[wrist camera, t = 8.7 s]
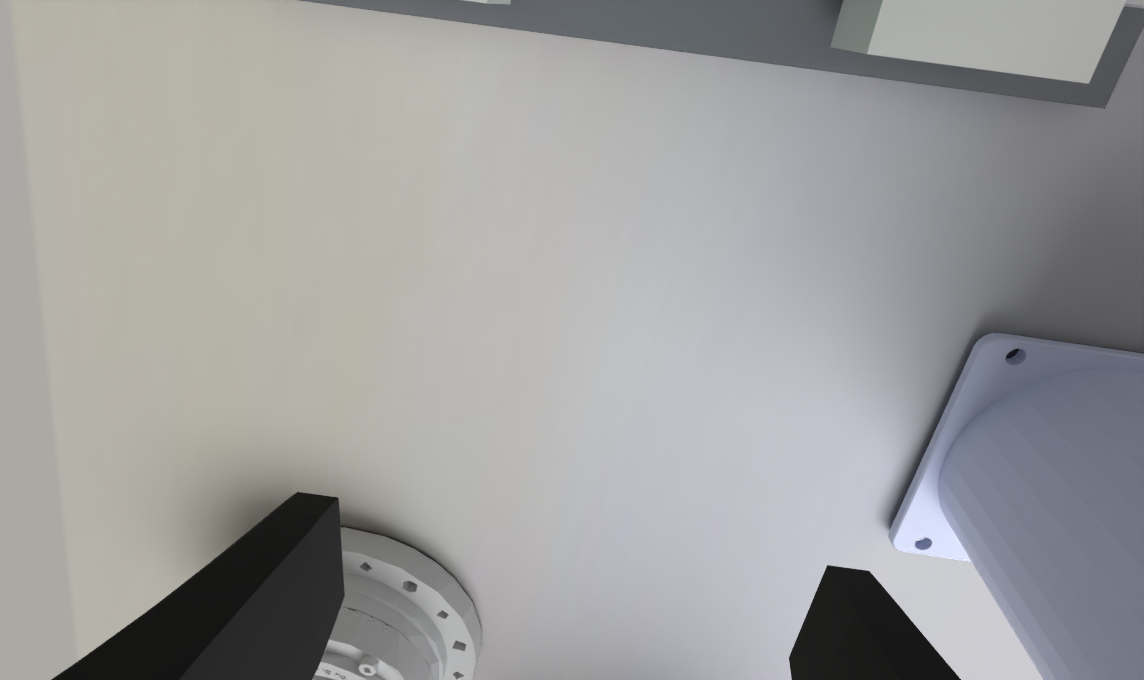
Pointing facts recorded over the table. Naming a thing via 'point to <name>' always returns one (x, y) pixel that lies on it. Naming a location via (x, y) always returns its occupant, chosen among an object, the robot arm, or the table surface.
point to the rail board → (761, 38)
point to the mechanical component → (399, 617)
